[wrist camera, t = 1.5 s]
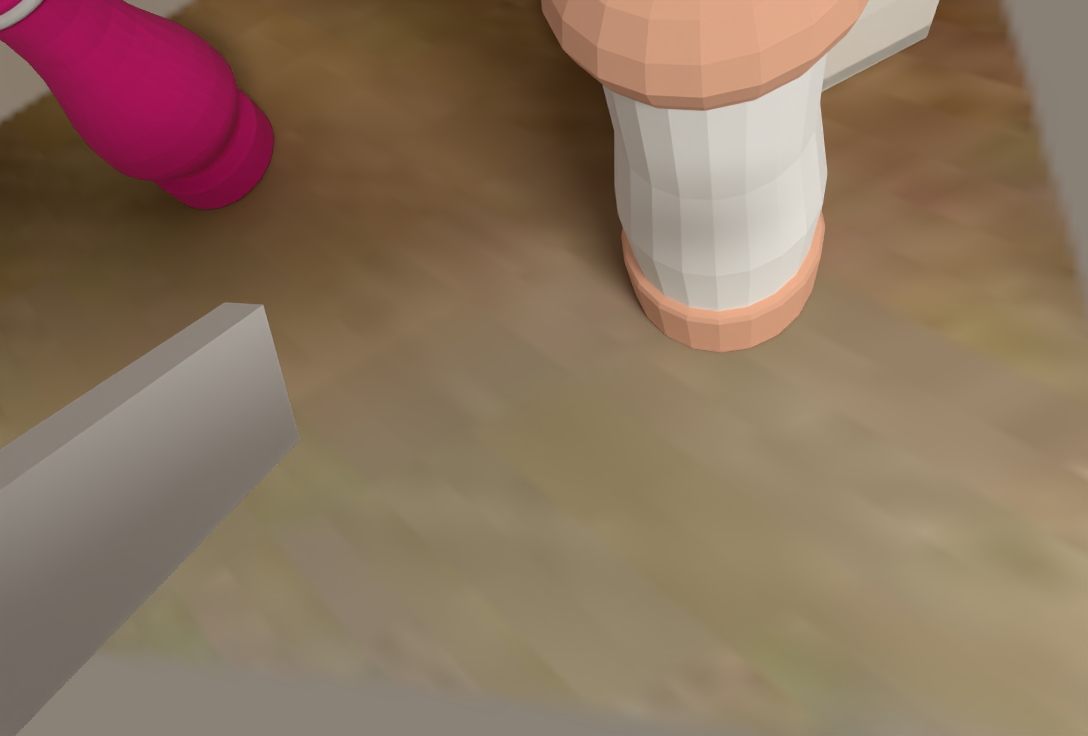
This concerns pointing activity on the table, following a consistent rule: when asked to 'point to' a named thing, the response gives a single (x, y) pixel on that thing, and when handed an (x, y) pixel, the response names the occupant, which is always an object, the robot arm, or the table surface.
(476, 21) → the table surface
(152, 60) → the pepper mill
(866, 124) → the table surface
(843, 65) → the tray
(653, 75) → the pepper shaker
